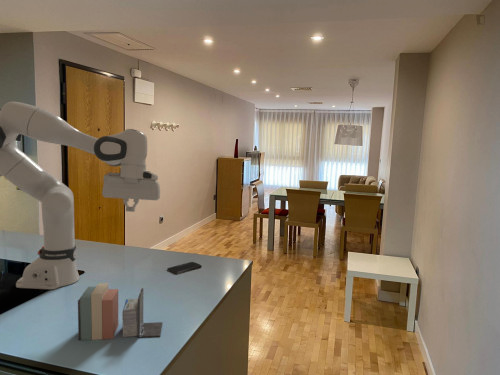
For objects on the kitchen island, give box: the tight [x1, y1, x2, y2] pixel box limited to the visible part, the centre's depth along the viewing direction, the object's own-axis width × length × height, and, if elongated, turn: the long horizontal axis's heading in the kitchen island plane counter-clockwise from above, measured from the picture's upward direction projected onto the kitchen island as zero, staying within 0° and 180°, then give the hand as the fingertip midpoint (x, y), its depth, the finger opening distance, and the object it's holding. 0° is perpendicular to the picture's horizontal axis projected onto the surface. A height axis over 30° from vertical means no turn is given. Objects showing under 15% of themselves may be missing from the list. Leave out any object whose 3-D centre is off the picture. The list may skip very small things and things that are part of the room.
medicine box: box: [121, 298, 138, 338], centre depth 110 cm, size 8×4×9 cm, turn 12°
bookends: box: [77, 288, 163, 341], centre depth 109 cm, size 23×8×12 cm, turn 99°
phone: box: [166, 261, 203, 275], centre depth 166 cm, size 8×1×15 cm
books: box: [79, 282, 119, 341], centre depth 108 cm, size 9×8×14 cm
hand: (130, 211), depth 131 cm, fingers closed
